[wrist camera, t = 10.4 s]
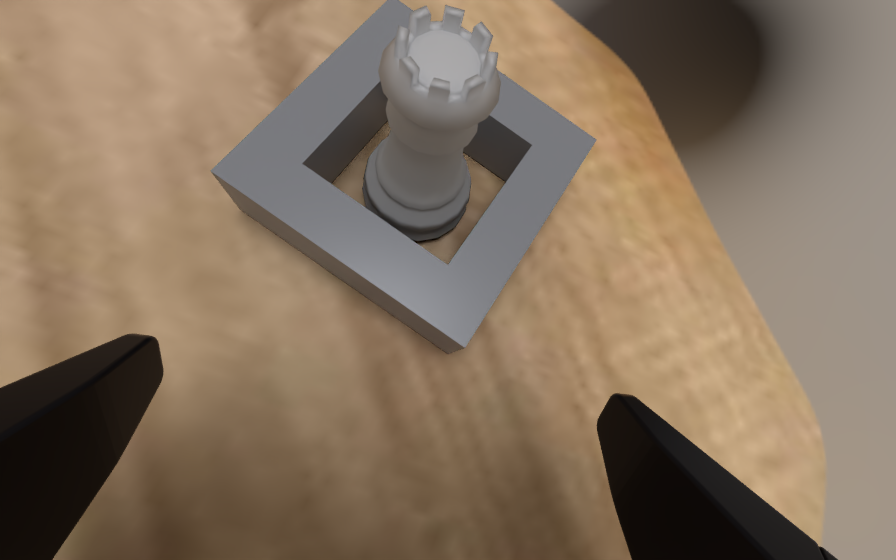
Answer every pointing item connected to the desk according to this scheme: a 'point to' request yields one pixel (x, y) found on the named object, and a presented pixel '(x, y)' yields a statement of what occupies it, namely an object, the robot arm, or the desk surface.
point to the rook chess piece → (430, 122)
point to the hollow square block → (368, 236)
